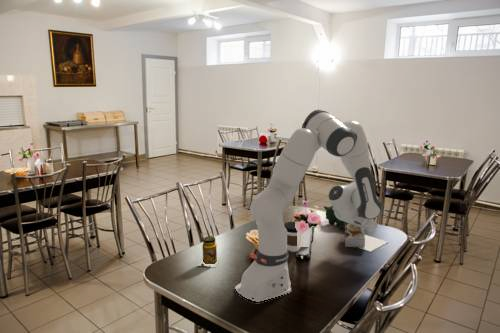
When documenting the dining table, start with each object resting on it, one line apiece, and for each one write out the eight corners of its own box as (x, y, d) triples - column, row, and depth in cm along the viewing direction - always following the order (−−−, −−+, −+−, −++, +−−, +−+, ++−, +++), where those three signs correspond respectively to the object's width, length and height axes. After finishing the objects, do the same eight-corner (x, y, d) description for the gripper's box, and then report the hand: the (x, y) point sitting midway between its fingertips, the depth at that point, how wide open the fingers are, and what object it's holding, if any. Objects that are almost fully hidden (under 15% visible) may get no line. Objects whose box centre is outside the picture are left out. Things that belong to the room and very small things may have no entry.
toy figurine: (364, 234, 198) (327, 218, 216) (369, 201, 192) (331, 187, 211) (353, 238, 192) (317, 221, 210) (358, 204, 187) (320, 190, 205)
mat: (370, 252, 172) (370, 251, 172) (346, 243, 182) (346, 242, 182) (388, 242, 182) (388, 242, 182) (364, 235, 192) (364, 234, 192)
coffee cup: (308, 247, 178) (309, 224, 175) (298, 256, 169) (299, 231, 166) (288, 242, 183) (289, 219, 181) (277, 250, 175) (278, 226, 172)
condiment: (216, 268, 158) (215, 241, 156) (196, 267, 159) (195, 241, 156) (219, 260, 165) (218, 235, 163) (200, 259, 166) (199, 234, 163)
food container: (317, 244, 180) (317, 225, 178) (304, 244, 181) (305, 225, 179) (313, 235, 193) (314, 217, 190) (301, 235, 193) (302, 217, 191)
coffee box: (345, 238, 174) (344, 213, 186) (345, 247, 178) (344, 221, 190) (365, 239, 172) (363, 213, 184) (365, 247, 176) (363, 222, 188)
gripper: (327, 211, 171) (339, 226, 179) (365, 225, 155) (376, 240, 163) (334, 200, 172) (345, 215, 180) (372, 212, 157) (383, 229, 165)
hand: (360, 227), depth 172 cm, fingers closed
